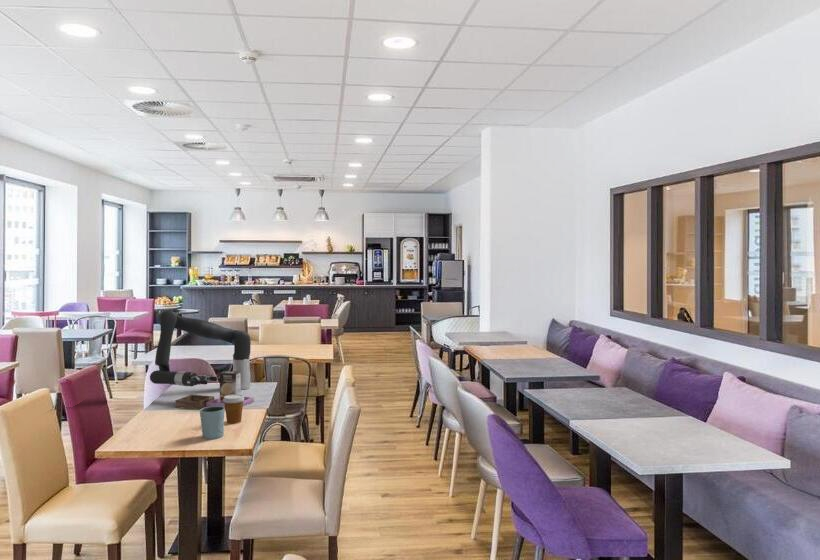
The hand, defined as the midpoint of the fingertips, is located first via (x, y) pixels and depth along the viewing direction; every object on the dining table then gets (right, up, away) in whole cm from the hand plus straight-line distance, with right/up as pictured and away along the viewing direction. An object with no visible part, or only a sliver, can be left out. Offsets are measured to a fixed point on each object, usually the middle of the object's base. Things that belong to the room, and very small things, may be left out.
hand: (212, 380), depth 311 cm
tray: (+10, -12, -3) cm, 16 cm away
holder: (-8, -12, -4) cm, 15 cm away
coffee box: (+10, -11, -3) cm, 16 cm away
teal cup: (+19, -14, -57) cm, 61 cm away
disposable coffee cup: (+22, -14, -34) cm, 43 cm away
